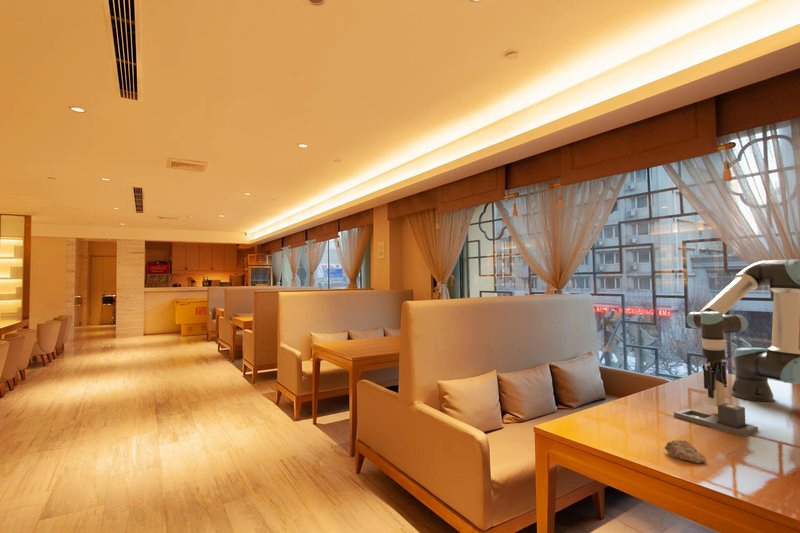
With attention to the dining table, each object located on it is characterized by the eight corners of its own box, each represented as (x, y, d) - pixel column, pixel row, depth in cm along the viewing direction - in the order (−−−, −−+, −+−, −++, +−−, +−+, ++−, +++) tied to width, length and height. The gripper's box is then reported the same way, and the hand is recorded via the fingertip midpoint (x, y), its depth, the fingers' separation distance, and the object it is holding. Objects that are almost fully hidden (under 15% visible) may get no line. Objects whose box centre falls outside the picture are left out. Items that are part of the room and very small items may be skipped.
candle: (728, 406, 167) (726, 382, 167) (713, 406, 168) (711, 382, 168) (720, 402, 172) (719, 379, 173) (705, 402, 173) (704, 378, 174)
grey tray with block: (687, 412, 171) (687, 392, 171) (758, 431, 150) (757, 408, 150) (674, 416, 167) (673, 395, 167) (744, 436, 145) (743, 412, 146)
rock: (660, 454, 133) (687, 461, 124) (661, 435, 135) (687, 441, 125) (683, 458, 135) (711, 466, 125) (683, 439, 136) (711, 445, 127)
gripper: (715, 344, 178) (718, 397, 178) (691, 350, 170) (694, 405, 169) (735, 347, 171) (738, 402, 171) (711, 352, 163) (715, 410, 163)
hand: (716, 403), depth 170 cm, fingers closed on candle, 5 cm apart
